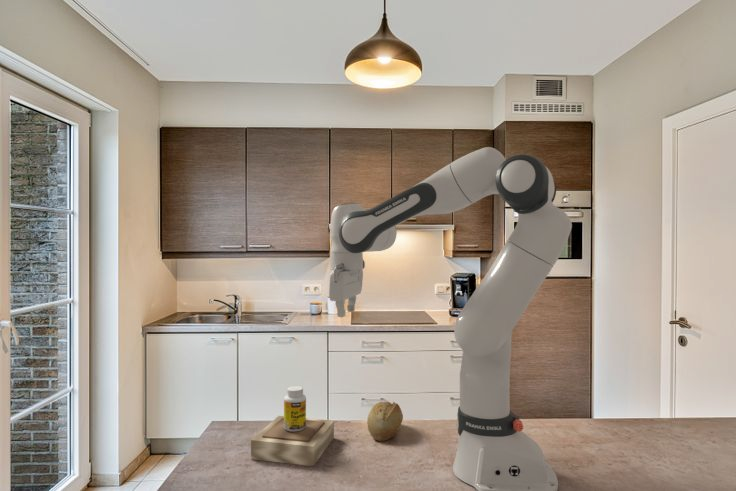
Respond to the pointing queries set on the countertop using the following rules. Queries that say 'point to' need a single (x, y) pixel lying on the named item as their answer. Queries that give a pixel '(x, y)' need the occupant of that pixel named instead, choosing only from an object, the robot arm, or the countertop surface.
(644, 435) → the countertop surface
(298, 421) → the supplement bottle
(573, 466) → the countertop surface
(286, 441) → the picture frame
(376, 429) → the bread roll
